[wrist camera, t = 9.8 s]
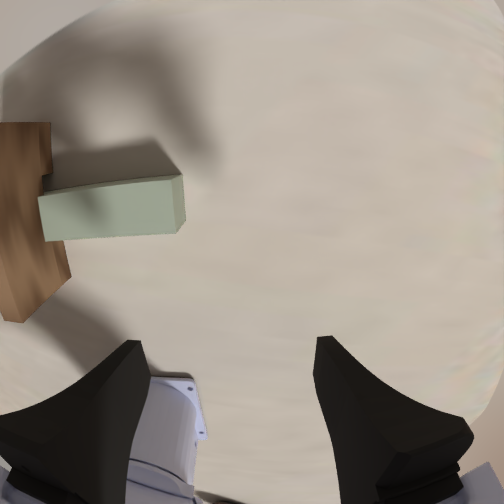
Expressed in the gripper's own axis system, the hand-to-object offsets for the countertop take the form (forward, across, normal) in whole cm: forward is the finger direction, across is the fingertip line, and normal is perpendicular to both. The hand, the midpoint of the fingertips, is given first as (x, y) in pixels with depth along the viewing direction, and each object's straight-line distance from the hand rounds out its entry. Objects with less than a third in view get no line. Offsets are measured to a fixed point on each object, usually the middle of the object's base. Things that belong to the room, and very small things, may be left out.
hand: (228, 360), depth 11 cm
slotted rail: (+9, +14, -5) cm, 18 cm away
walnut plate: (+9, +14, -6) cm, 18 cm away
